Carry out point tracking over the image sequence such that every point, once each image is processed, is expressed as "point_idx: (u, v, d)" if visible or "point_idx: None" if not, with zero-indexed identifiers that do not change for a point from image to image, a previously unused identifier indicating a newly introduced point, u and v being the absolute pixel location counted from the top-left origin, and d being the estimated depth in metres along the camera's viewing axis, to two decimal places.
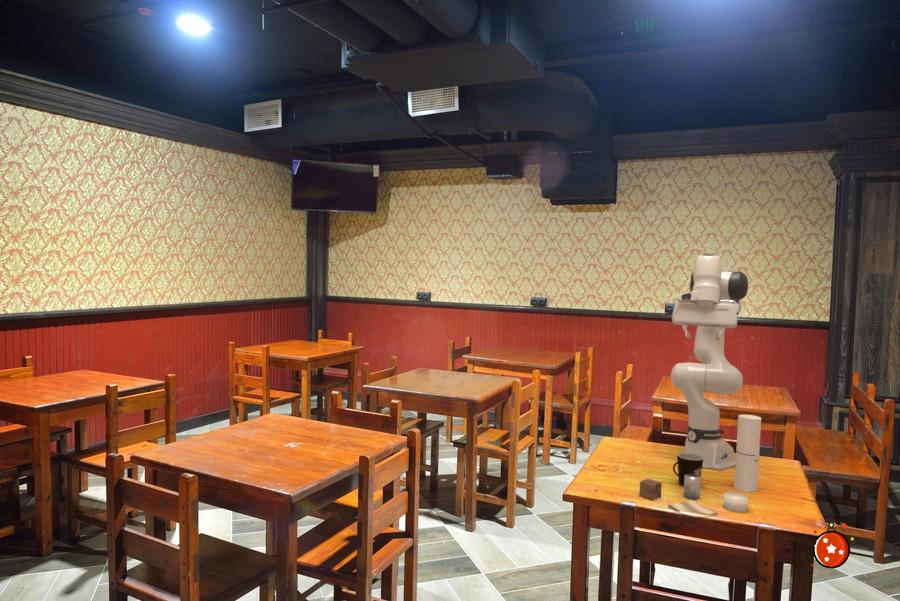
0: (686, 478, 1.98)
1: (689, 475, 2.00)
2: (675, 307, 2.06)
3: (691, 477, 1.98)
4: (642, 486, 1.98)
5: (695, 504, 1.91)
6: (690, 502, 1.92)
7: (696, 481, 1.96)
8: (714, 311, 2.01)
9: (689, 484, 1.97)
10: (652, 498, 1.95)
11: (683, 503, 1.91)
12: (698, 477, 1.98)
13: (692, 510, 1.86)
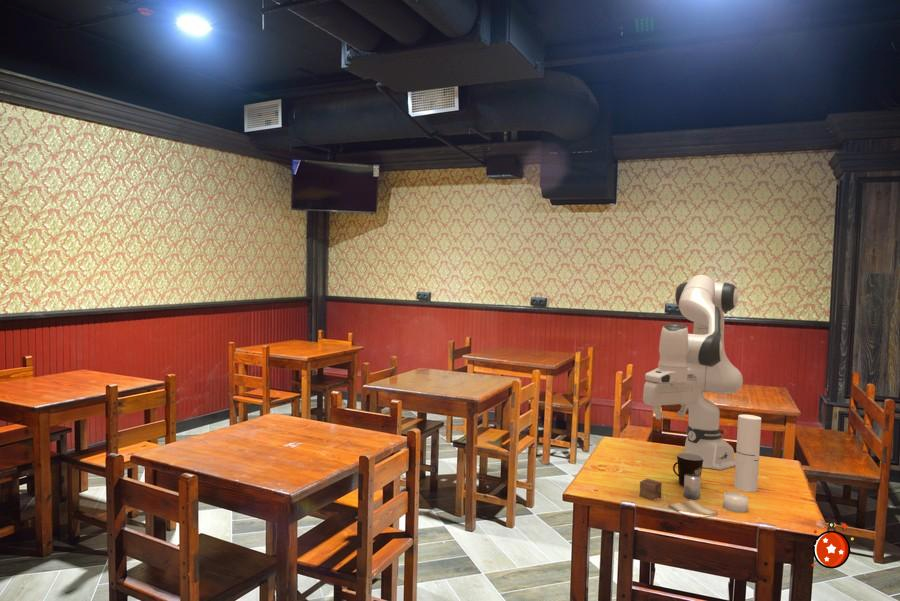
0: (686, 478, 1.98)
1: (689, 475, 2.00)
2: (654, 390, 1.87)
3: (691, 477, 1.98)
4: (642, 486, 1.98)
5: (695, 504, 1.91)
6: (690, 502, 1.92)
7: (696, 481, 1.96)
8: (682, 389, 1.93)
9: (689, 484, 1.97)
10: (652, 498, 1.95)
11: (683, 503, 1.91)
12: (698, 477, 1.98)
13: (692, 510, 1.86)
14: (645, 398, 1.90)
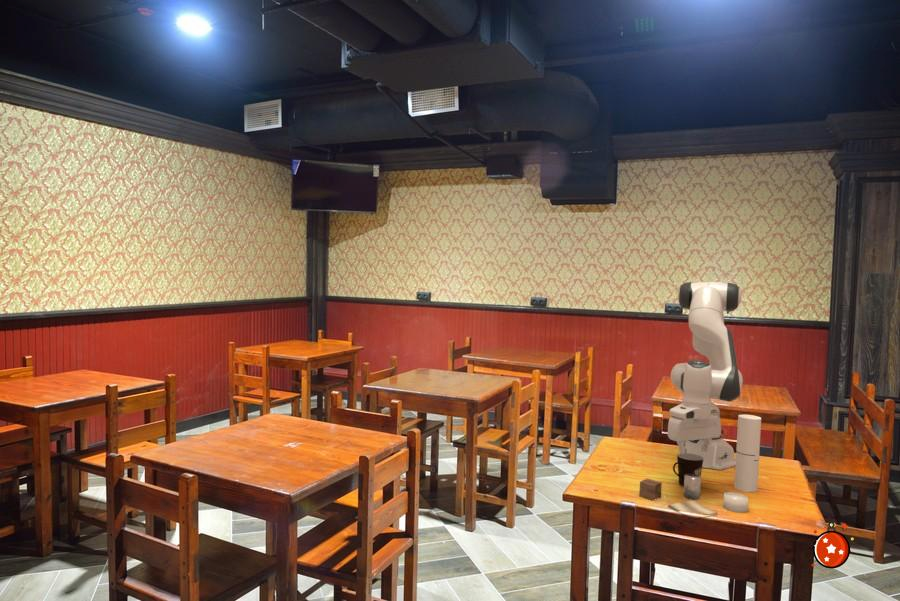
0: (686, 478, 1.98)
1: (689, 475, 2.00)
2: (679, 426, 1.92)
3: (691, 477, 1.98)
4: (642, 486, 1.98)
5: (695, 504, 1.91)
6: (690, 502, 1.92)
7: (696, 481, 1.96)
8: (706, 425, 1.98)
9: (689, 484, 1.97)
10: (652, 498, 1.95)
11: (683, 503, 1.91)
12: (698, 477, 1.98)
13: (692, 510, 1.86)
14: (670, 433, 1.94)
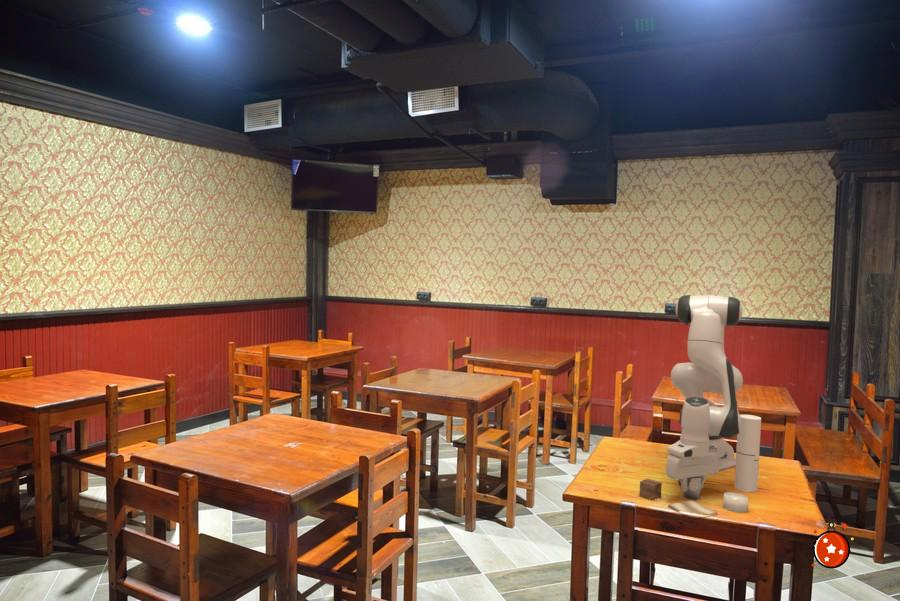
0: None
1: None
2: (677, 465, 1.93)
3: (691, 477, 1.98)
4: (642, 486, 1.98)
5: (695, 504, 1.91)
6: (690, 502, 1.92)
7: (696, 481, 1.96)
8: (704, 462, 1.99)
9: (689, 484, 1.97)
10: (652, 498, 1.95)
11: (683, 503, 1.91)
12: (698, 477, 1.98)
13: (692, 510, 1.86)
14: (668, 471, 1.95)
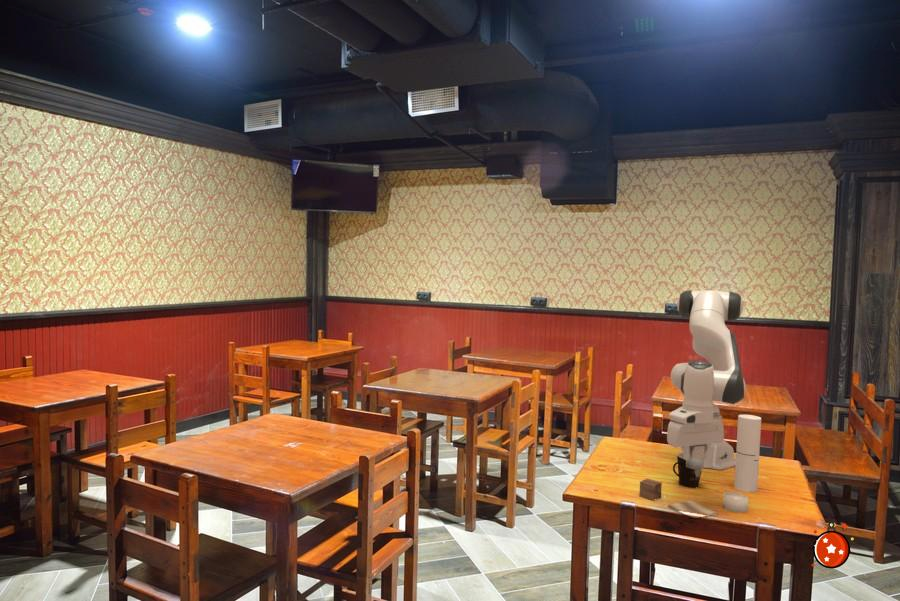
0: None
1: None
2: (679, 431, 1.80)
3: None
4: (642, 486, 1.98)
5: (695, 504, 1.91)
6: (690, 502, 1.92)
7: (700, 449, 1.84)
8: (707, 429, 1.86)
9: (692, 453, 1.85)
10: (652, 498, 1.95)
11: (683, 503, 1.91)
12: (702, 445, 1.86)
13: (692, 510, 1.86)
14: (669, 439, 1.83)
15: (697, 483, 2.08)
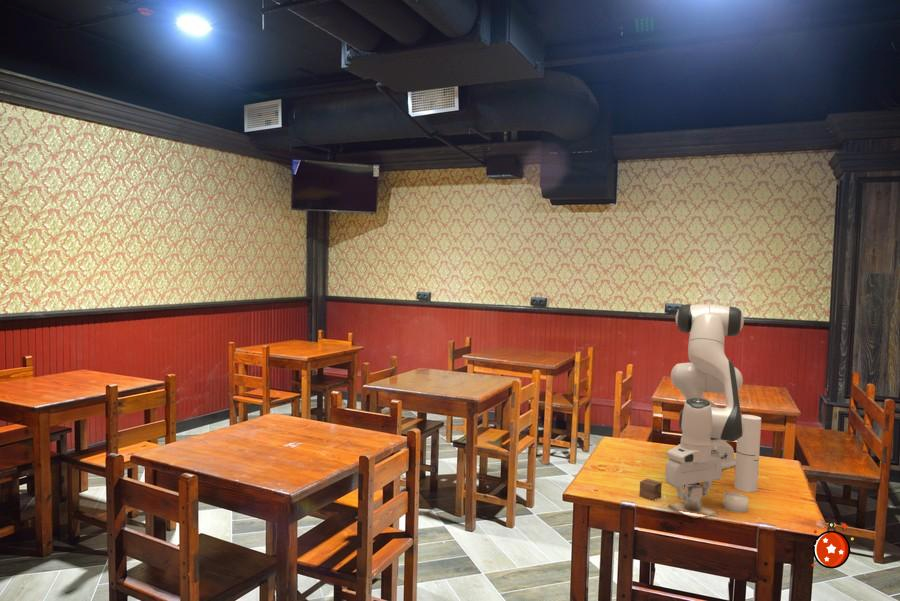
0: (687, 488, 1.86)
1: (690, 485, 1.88)
2: (677, 470, 1.81)
3: (692, 487, 1.86)
4: (642, 486, 1.98)
5: None
6: None
7: (698, 491, 1.85)
8: (705, 467, 1.87)
9: (690, 494, 1.85)
10: (652, 498, 1.95)
11: (683, 503, 1.91)
12: (700, 487, 1.86)
13: None
14: (667, 477, 1.83)
15: (697, 483, 2.08)
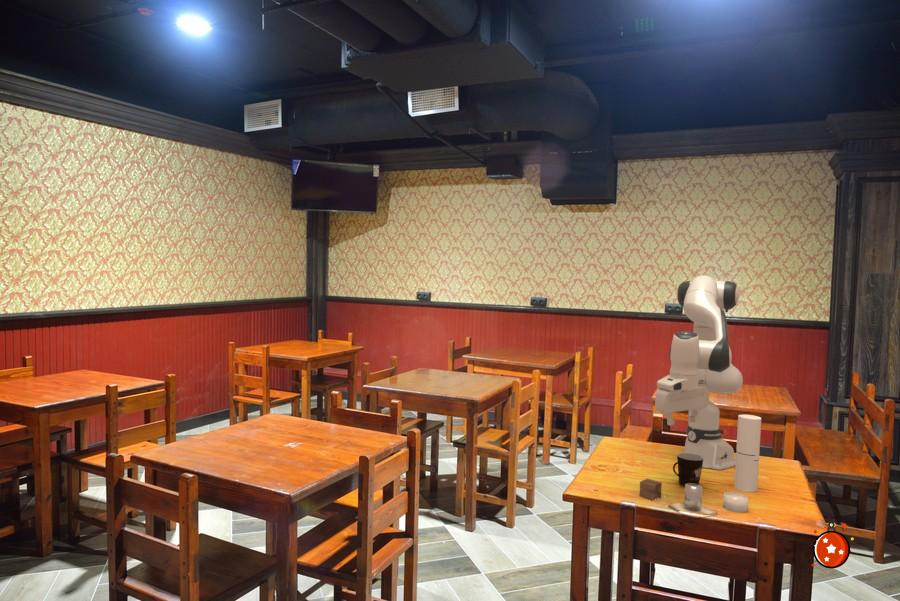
0: (687, 487, 1.86)
1: (690, 484, 1.88)
2: (667, 398, 1.91)
3: (692, 486, 1.86)
4: (642, 486, 1.98)
5: None
6: None
7: (698, 491, 1.85)
8: (693, 396, 1.97)
9: (690, 494, 1.85)
10: (652, 498, 1.95)
11: (683, 503, 1.91)
12: (700, 486, 1.86)
13: None
14: (657, 405, 1.93)
15: (697, 483, 2.08)
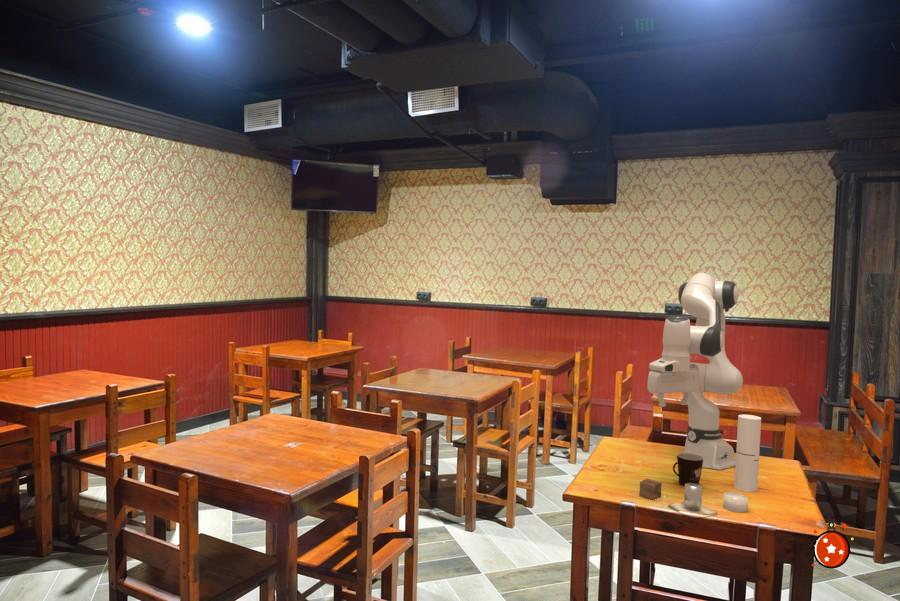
0: (686, 487, 1.87)
1: (690, 484, 1.88)
2: (658, 379, 1.97)
3: (692, 486, 1.86)
4: (642, 486, 1.98)
5: None
6: None
7: (697, 490, 1.85)
8: (685, 378, 2.02)
9: (689, 494, 1.86)
10: (652, 498, 1.95)
11: (683, 503, 1.91)
12: (699, 486, 1.86)
13: None
14: (649, 386, 1.99)
15: (697, 483, 2.08)
